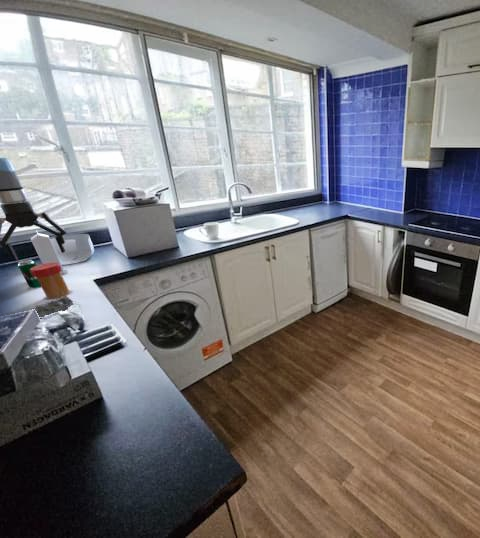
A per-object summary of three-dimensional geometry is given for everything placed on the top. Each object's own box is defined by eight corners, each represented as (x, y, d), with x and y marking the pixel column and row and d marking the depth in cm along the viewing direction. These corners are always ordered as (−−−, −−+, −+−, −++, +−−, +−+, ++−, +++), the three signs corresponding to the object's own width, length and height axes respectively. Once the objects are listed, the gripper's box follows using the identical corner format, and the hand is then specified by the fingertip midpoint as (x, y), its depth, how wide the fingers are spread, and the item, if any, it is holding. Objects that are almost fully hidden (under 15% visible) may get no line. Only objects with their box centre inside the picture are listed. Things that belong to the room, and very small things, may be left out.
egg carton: (38, 321, 105) (32, 311, 104) (33, 315, 109) (28, 305, 108) (76, 308, 113) (72, 298, 112) (70, 302, 117) (66, 293, 116)
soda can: (45, 282, 136) (33, 258, 131) (45, 285, 133) (33, 261, 128) (29, 286, 133) (17, 261, 128) (29, 289, 129) (16, 264, 125)
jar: (45, 300, 119) (31, 272, 114) (48, 294, 124) (35, 267, 120) (68, 295, 123) (55, 268, 118) (70, 289, 128) (58, 263, 123)
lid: (31, 279, 114) (27, 272, 113) (35, 272, 121) (32, 265, 119) (60, 273, 119) (57, 266, 118) (62, 267, 125) (60, 261, 124)
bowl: (100, 250, 177) (93, 232, 172) (94, 260, 162) (86, 239, 157) (56, 257, 168) (47, 237, 163) (45, 268, 152) (34, 246, 148)
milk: (49, 277, 141) (27, 233, 132) (48, 274, 145) (26, 231, 136) (66, 273, 145) (45, 230, 137) (64, 270, 149) (45, 228, 140)
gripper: (61, 196, 118) (82, 246, 127) (-34, 205, 104) (-3, 260, 113) (58, 199, 113) (80, 250, 121) (-42, 208, 99) (-9, 266, 107)
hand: (40, 255), depth 117 cm, fingers open, 13 cm apart
